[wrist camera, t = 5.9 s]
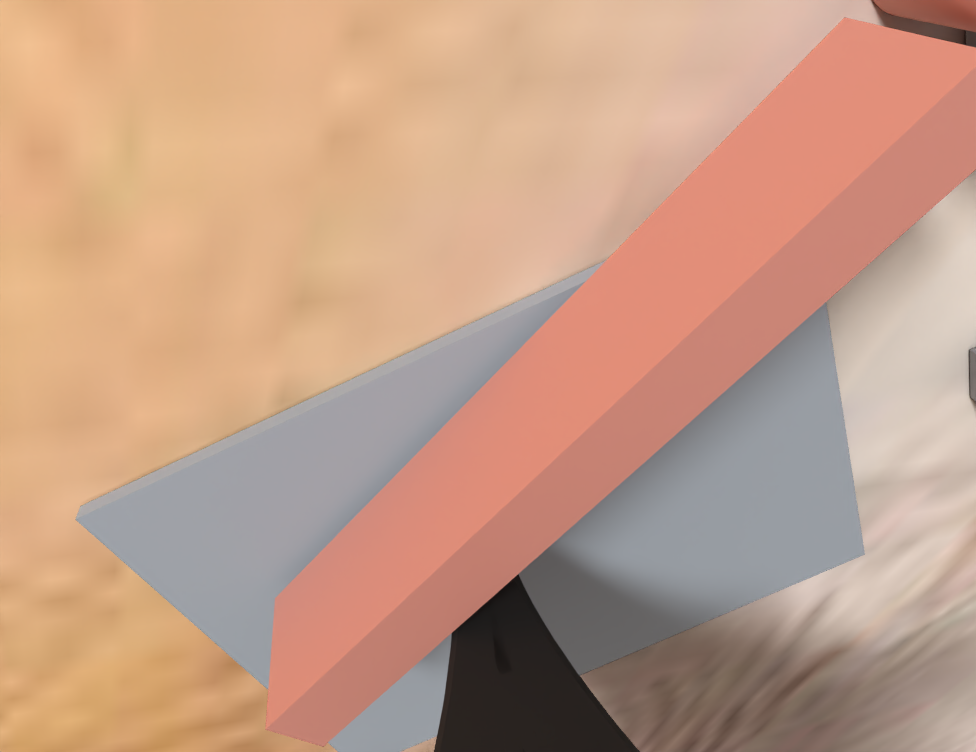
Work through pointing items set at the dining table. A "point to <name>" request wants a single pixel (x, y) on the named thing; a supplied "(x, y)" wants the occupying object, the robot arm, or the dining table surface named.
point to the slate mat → (553, 574)
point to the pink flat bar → (634, 355)
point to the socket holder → (972, 40)
